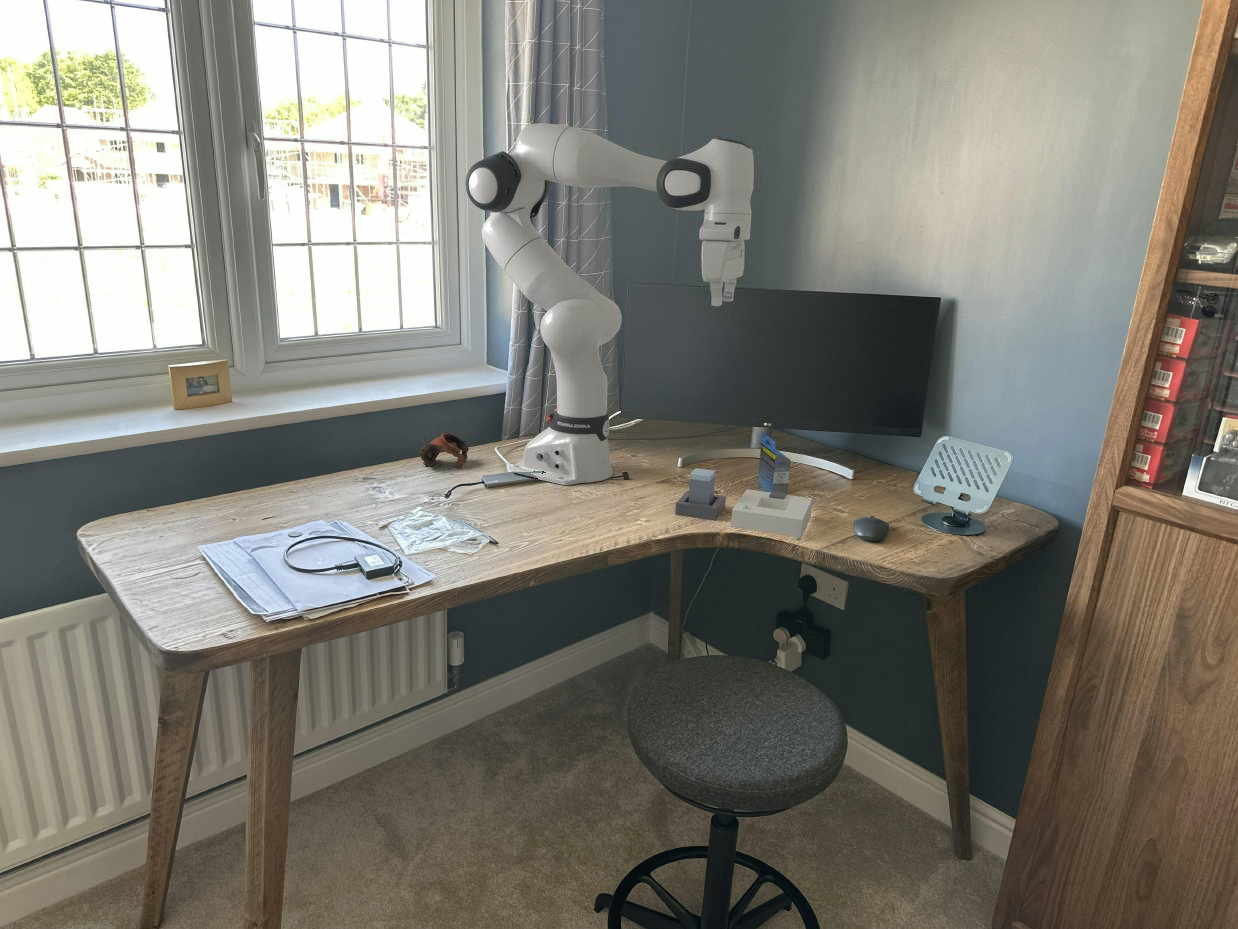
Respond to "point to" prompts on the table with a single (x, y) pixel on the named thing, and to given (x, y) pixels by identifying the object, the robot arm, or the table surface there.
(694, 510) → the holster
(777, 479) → the label tape cartridge
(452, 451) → the orange curved piece
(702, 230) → the robot arm
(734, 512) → the panel
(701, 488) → the plug
